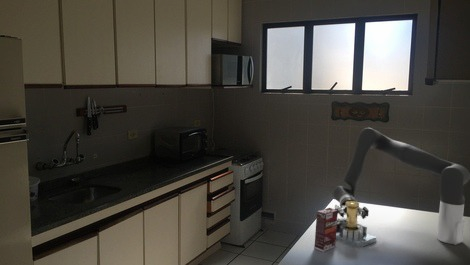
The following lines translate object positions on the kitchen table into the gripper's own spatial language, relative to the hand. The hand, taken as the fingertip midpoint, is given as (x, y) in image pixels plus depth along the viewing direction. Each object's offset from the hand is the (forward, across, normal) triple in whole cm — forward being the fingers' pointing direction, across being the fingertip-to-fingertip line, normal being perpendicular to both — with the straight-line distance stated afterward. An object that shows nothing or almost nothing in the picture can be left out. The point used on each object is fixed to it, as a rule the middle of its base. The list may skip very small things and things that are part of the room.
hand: (353, 215), depth 173 cm
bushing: (-2, 0, +9) cm, 9 cm away
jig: (-2, 0, +11) cm, 11 cm away
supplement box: (+10, -12, +11) cm, 19 cm away
